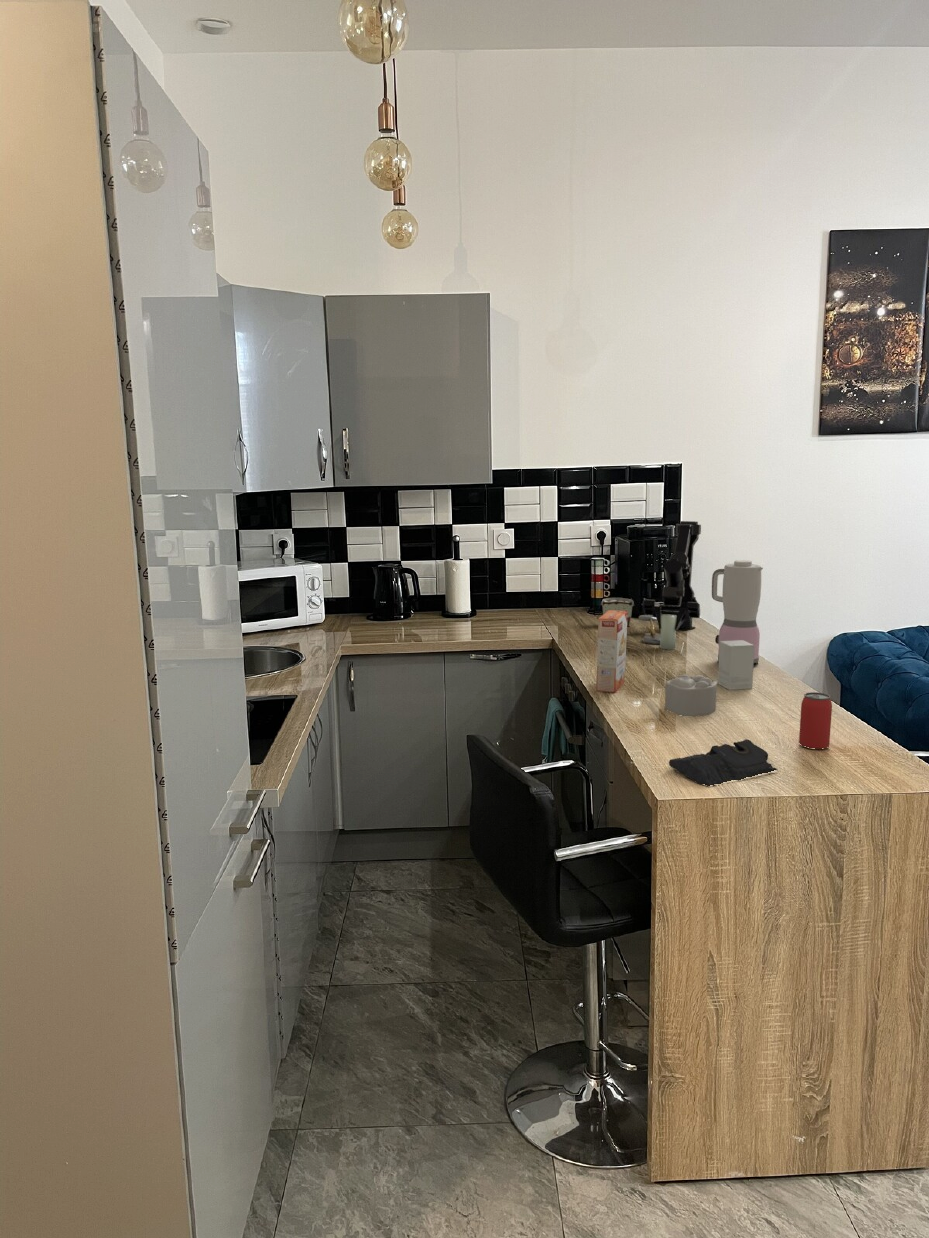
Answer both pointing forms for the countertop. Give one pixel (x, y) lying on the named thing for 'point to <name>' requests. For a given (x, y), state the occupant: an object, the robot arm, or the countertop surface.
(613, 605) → the food container
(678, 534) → the robot arm
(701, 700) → the lumpy-topped squat cylinder
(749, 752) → the folded black cloth
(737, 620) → the blender
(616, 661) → the cracker box
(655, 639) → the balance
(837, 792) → the countertop surface
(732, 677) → the supplement box
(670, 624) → the sage green rounded block
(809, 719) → the beer can
